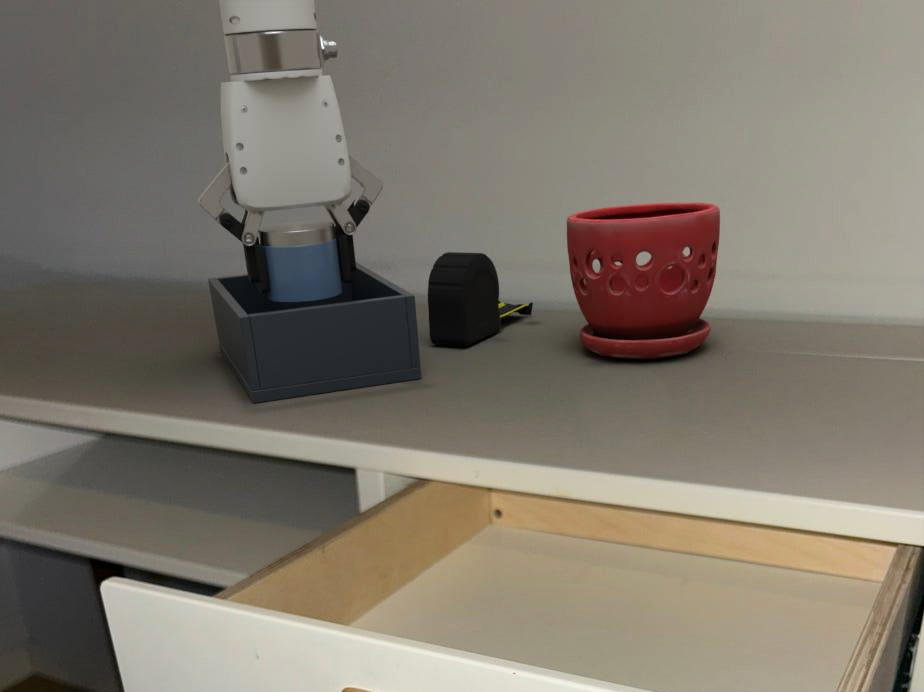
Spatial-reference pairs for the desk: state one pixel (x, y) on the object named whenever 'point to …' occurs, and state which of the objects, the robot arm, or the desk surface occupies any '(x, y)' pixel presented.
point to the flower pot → (644, 277)
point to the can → (301, 264)
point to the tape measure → (466, 299)
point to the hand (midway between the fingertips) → (304, 284)
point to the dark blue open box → (317, 338)
